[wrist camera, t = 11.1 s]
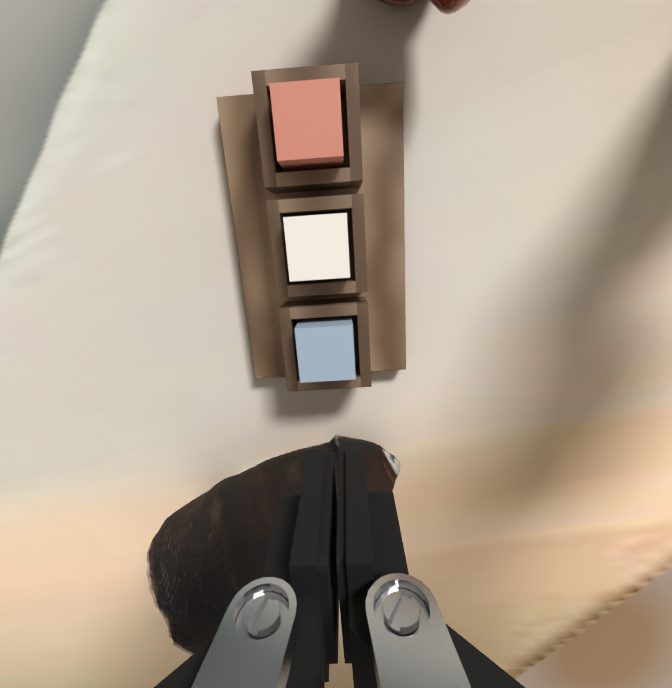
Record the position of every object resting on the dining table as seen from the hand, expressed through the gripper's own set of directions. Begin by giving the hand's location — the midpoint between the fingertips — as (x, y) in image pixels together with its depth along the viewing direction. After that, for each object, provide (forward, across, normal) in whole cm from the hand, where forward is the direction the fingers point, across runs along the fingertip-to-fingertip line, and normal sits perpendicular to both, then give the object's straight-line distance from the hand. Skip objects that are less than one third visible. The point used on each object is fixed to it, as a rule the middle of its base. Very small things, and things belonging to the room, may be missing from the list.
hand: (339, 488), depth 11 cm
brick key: (+24, +2, -16) cm, 29 cm away
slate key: (+24, +2, +2) cm, 24 cm away
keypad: (+28, +2, -7) cm, 28 cm away
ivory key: (+24, +2, -7) cm, 25 cm away
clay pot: (+28, +7, +21) cm, 36 cm away
